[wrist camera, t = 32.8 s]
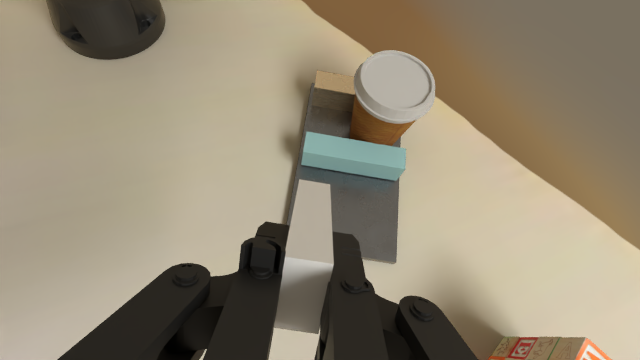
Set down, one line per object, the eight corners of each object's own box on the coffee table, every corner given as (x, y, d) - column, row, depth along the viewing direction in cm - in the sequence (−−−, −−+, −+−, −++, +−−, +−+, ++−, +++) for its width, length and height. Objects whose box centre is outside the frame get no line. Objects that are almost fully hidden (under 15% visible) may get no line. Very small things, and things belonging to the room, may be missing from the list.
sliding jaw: (396, 180, 46) (405, 169, 42) (301, 164, 45) (303, 151, 42) (396, 161, 47) (405, 148, 44) (304, 145, 46) (306, 131, 43)
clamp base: (393, 263, 42) (407, 255, 38) (283, 246, 42) (283, 236, 37) (399, 103, 53) (411, 82, 48) (311, 87, 52) (314, 64, 47)
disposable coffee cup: (345, 102, 50) (364, 38, 40) (407, 118, 50) (442, 59, 40) (331, 155, 46) (348, 101, 35) (398, 173, 46) (435, 124, 36)
